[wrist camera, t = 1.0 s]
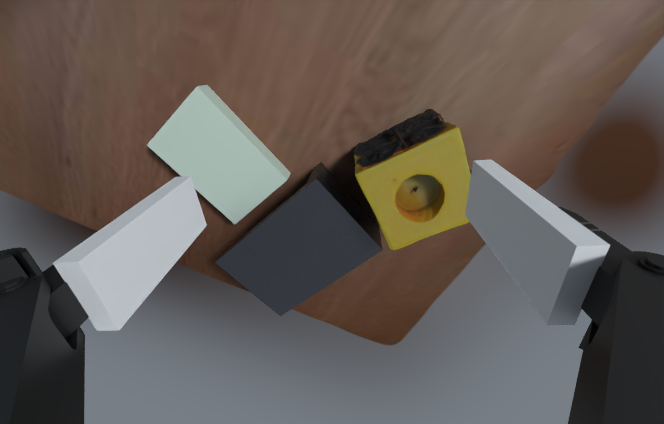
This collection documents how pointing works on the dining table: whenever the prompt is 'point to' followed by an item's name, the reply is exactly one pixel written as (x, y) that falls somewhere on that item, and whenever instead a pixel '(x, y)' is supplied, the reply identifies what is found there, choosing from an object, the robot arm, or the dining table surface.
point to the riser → (303, 244)
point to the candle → (415, 178)
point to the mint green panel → (218, 154)
